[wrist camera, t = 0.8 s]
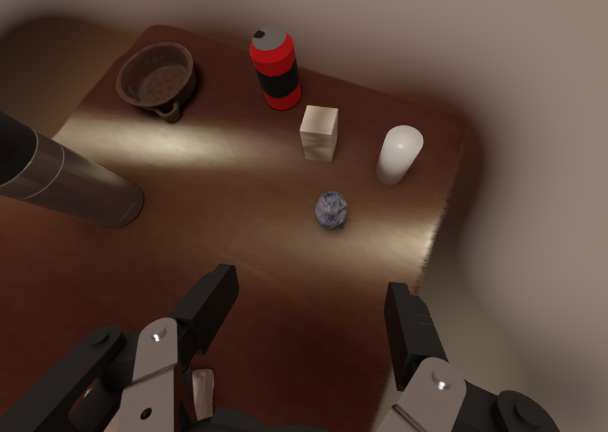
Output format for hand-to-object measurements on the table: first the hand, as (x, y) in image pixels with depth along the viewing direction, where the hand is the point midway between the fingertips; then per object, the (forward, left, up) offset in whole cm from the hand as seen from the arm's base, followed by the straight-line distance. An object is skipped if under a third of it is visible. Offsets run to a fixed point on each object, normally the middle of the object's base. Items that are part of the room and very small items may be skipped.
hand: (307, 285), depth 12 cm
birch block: (-14, +21, -25) cm, 36 cm away
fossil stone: (-5, +10, -25) cm, 28 cm away
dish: (-54, +17, -26) cm, 62 cm away
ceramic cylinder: (-1, +23, -25) cm, 34 cm away
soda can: (-28, +28, -25) cm, 47 cm away
